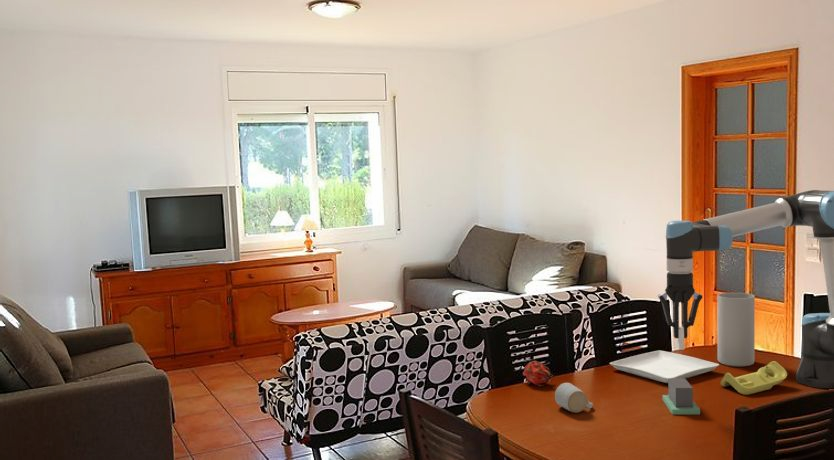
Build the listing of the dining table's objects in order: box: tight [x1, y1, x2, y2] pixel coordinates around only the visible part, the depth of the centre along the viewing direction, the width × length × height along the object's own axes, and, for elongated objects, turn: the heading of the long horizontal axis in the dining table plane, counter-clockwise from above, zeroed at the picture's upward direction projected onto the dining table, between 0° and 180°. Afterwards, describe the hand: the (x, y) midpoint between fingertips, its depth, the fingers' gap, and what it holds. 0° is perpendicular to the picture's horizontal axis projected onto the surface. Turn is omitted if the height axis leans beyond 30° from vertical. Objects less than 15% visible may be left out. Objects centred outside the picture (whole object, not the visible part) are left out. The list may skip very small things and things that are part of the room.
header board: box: [662, 394, 701, 415], centre depth 234 cm, size 8×14×5 cm, turn 174°
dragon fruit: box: [521, 360, 554, 387], centre depth 263 cm, size 8×8×12 cm
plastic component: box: [720, 360, 788, 396], centre depth 250 cm, size 20×7×10 cm
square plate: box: [609, 349, 720, 384], centre depth 272 cm, size 27×27×4 cm
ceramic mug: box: [554, 382, 593, 414], centre depth 236 cm, size 11×8×8 cm
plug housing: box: [667, 378, 694, 407], centre depth 236 cm, size 14×5×6 cm, turn 174°
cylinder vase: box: [716, 292, 756, 368], centre depth 279 cm, size 12×12×25 cm
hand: (680, 348), depth 233 cm, fingers closed
